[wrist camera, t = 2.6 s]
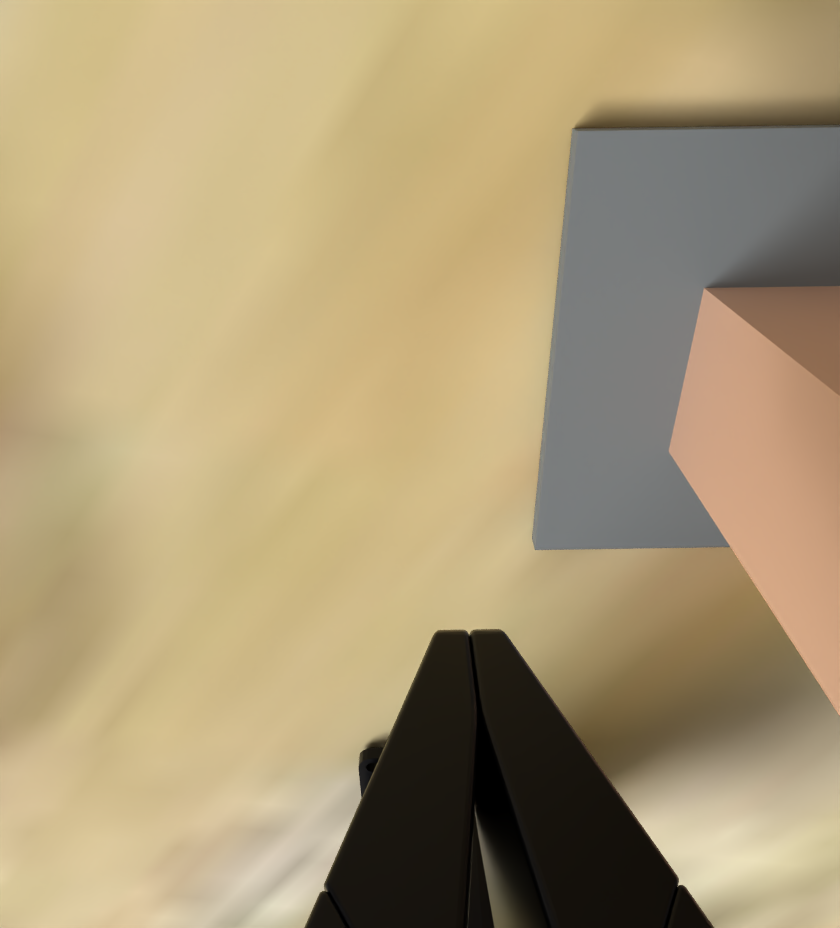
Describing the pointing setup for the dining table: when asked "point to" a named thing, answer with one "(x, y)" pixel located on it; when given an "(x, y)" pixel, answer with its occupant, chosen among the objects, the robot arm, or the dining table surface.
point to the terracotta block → (772, 451)
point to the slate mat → (663, 308)
